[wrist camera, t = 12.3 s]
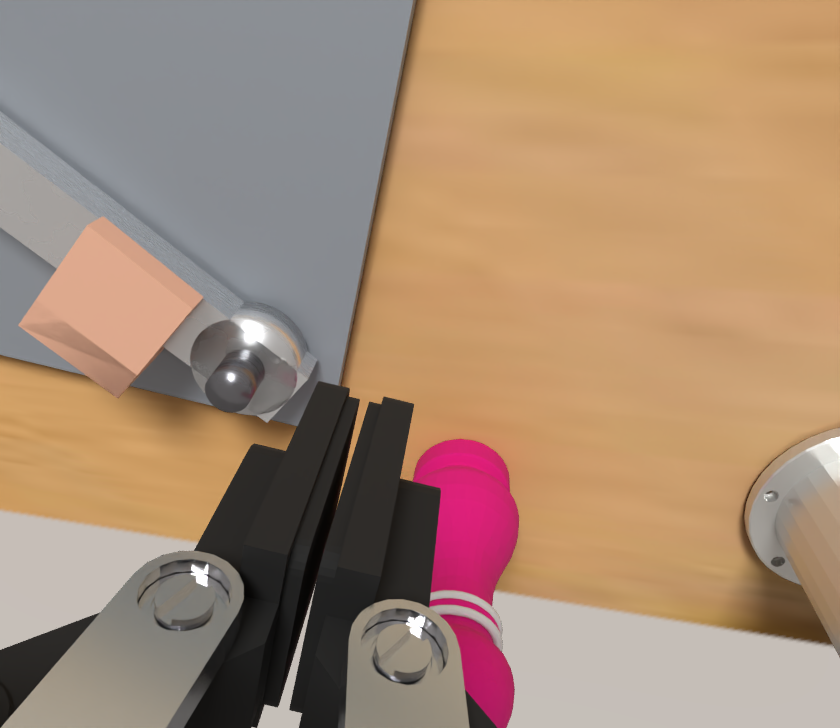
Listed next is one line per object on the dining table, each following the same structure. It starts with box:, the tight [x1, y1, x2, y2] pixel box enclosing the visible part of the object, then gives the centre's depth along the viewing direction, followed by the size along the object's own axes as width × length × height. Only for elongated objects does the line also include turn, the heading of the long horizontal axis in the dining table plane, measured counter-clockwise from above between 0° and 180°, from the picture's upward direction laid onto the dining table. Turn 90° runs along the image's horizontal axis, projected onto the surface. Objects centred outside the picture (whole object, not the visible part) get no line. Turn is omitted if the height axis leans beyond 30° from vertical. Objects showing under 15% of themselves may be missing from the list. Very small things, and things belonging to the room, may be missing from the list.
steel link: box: [0, 112, 318, 423], centre depth 35 cm, size 24×6×5 cm, turn 49°
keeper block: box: [18, 216, 204, 398], centre depth 37 cm, size 6×7×7 cm
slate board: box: [0, 0, 416, 426], centre depth 36 cm, size 26×28×2 cm
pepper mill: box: [413, 439, 519, 728], centre depth 37 cm, size 7×7×20 cm
